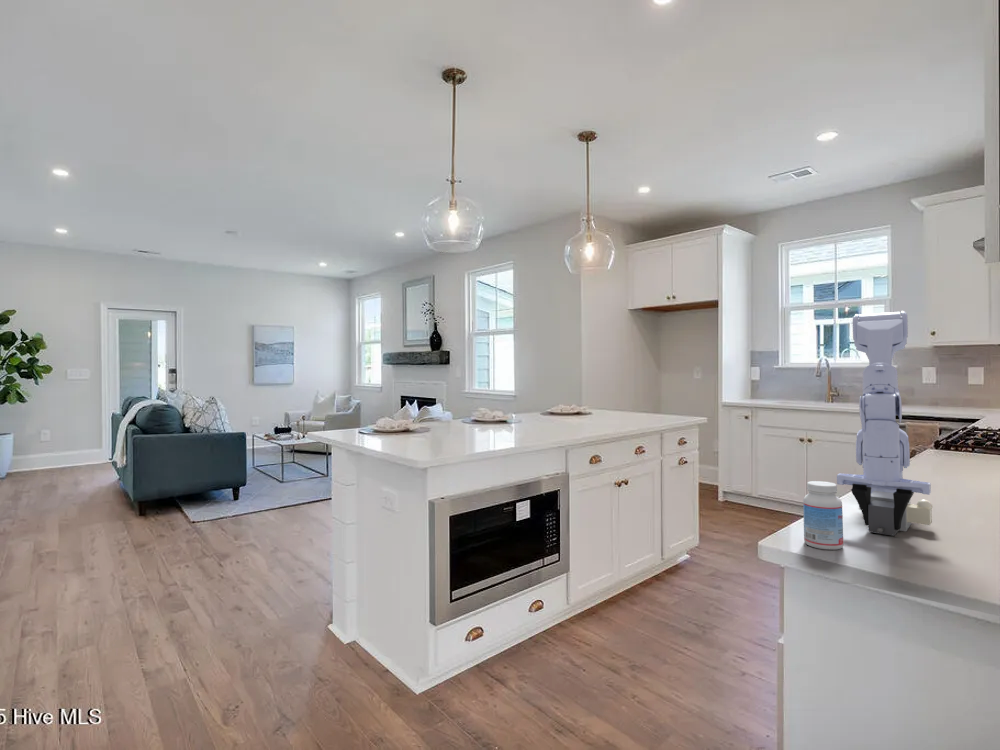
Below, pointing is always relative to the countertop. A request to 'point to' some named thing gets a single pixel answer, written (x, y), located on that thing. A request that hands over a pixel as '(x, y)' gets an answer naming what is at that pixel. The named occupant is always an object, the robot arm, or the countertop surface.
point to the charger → (881, 517)
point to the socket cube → (889, 498)
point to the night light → (920, 512)
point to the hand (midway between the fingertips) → (882, 526)
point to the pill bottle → (823, 516)
